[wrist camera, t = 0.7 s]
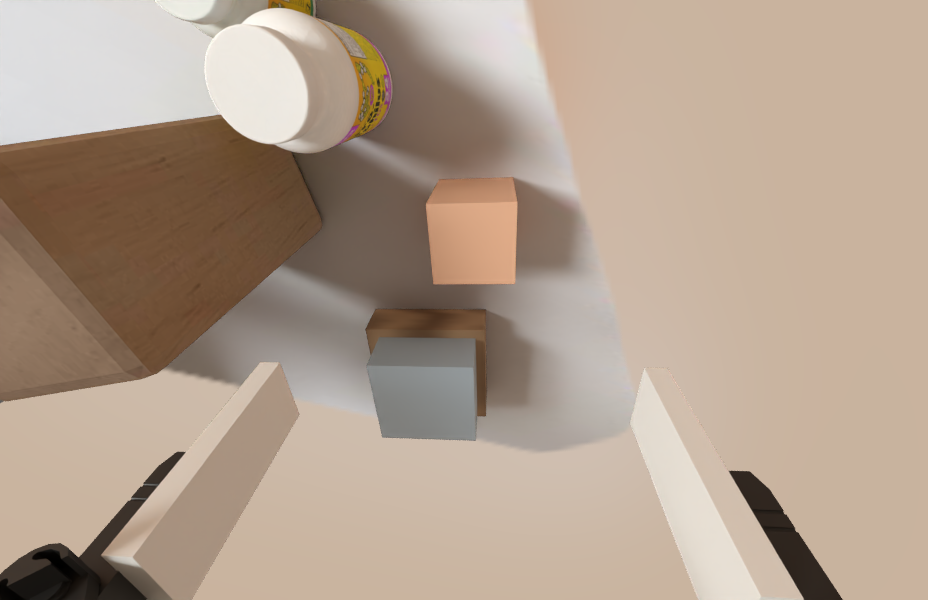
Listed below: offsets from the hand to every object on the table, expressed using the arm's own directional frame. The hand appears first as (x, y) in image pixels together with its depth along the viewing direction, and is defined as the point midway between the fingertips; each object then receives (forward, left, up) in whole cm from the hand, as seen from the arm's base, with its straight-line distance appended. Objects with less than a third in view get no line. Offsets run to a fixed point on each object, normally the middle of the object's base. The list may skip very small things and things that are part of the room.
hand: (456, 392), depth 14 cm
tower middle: (-5, -15, -18) cm, 24 cm away
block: (-19, +3, -21) cm, 29 cm away
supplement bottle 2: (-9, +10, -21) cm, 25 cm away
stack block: (0, 0, -21) cm, 21 cm away
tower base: (-5, -15, -22) cm, 27 cm away
